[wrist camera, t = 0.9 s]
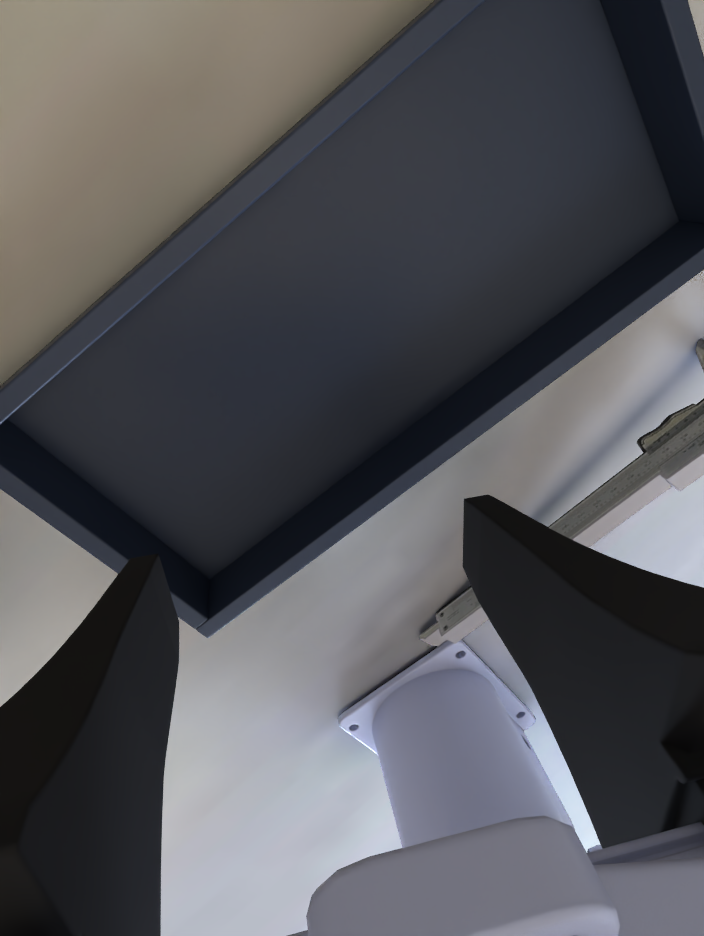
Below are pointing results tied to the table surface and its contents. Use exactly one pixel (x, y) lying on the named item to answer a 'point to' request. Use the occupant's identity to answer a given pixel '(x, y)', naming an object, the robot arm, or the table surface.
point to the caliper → (607, 503)
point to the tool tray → (371, 294)
